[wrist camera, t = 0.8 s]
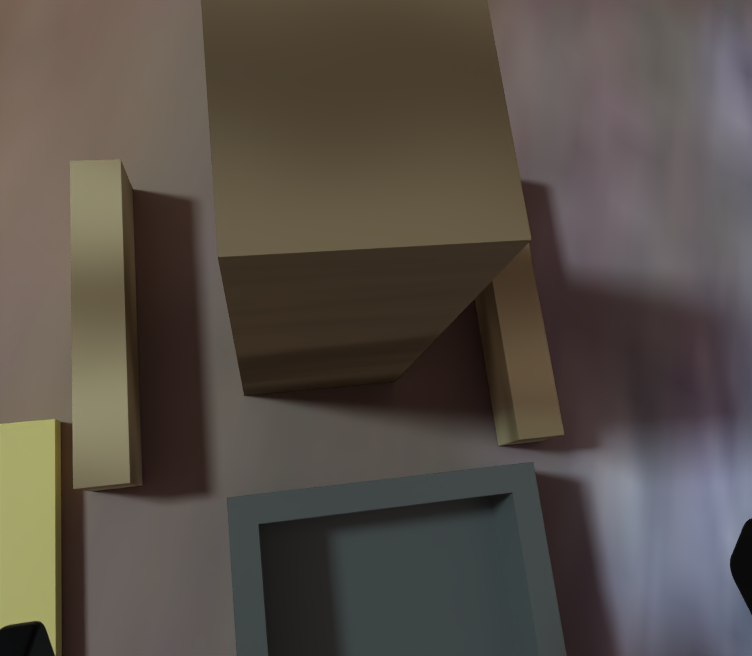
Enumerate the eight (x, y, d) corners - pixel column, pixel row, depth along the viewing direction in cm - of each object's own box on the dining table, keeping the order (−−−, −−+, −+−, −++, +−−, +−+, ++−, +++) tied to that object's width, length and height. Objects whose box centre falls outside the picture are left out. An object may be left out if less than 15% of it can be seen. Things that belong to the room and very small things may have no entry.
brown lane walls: (540, 441, 23) (564, 434, 21) (90, 491, 21) (73, 489, 19) (493, 174, 26) (511, 147, 24) (86, 190, 23) (70, 160, 21)
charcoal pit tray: (554, 768, 21) (592, 802, 18) (253, 829, 19) (250, 875, 17) (505, 467, 23) (533, 461, 20) (231, 499, 21) (226, 497, 19)
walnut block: (394, 381, 23) (531, 239, 11) (244, 395, 22) (217, 256, 10) (377, 243, 24) (483, -18, 12) (234, 251, 23) (199, -22, 11)
